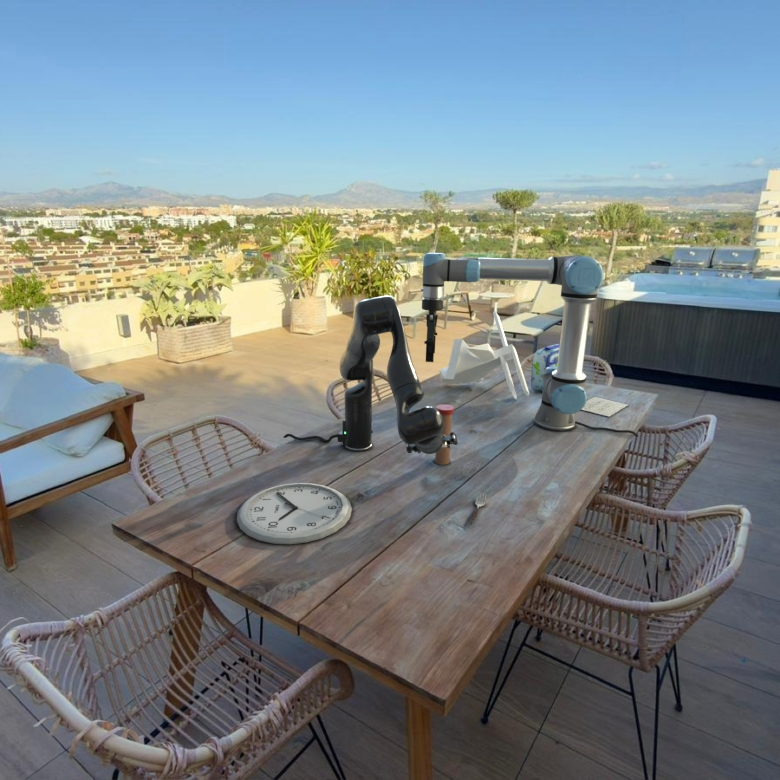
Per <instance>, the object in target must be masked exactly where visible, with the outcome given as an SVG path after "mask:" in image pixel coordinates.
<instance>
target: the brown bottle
mask: <svg viewBox="0 0 780 780" xmlns="http://www.w3.org/2000/svg"><path fill="white" fill-rule="evenodd" d="M441 416H442V419H443V431H442V435H445V436H446V437H447V436H449V434H450V433H451V432H452V426H453V425H452V424H453V414H451V415H441ZM434 456H435V458H434V462H435V463H436V464H437V465H441V466H442V465H443V466H444V465H445V466H446V465H448V464H450V460H451V459H450V458H451V447H450V448H447V447H444V448H441V449H440V450H439V451H437V452H436V453H434Z"/></svg>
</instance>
